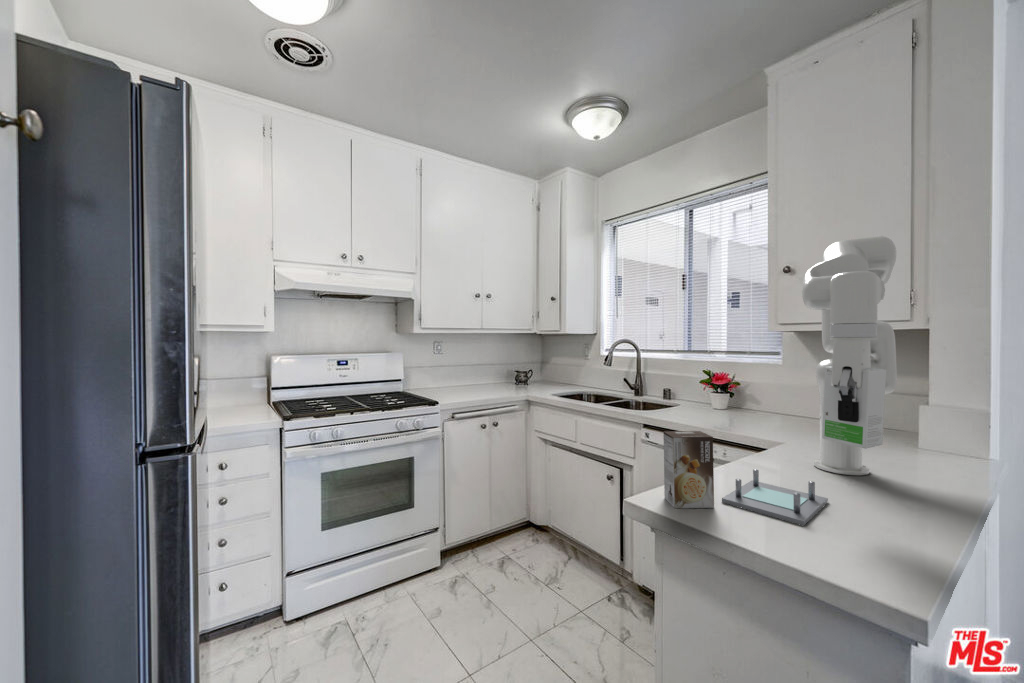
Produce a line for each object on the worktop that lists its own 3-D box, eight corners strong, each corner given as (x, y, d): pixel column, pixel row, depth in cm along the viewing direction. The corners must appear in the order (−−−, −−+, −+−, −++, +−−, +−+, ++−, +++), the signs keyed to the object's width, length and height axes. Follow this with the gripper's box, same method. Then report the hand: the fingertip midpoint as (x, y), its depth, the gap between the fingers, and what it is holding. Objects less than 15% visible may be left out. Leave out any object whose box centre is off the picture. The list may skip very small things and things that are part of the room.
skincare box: (821, 439, 88) (821, 366, 88) (839, 435, 91) (840, 364, 91) (867, 449, 81) (868, 369, 80) (886, 445, 83) (887, 367, 83)
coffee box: (701, 497, 99) (701, 430, 99) (714, 508, 92) (714, 436, 92) (663, 497, 99) (662, 430, 99) (673, 509, 92) (673, 437, 92)
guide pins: (754, 484, 104) (754, 468, 104) (815, 499, 94) (815, 482, 94) (734, 496, 96) (734, 479, 96) (799, 514, 87) (799, 495, 87)
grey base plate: (752, 484, 107) (751, 479, 107) (827, 502, 95) (827, 497, 95) (721, 502, 96) (721, 497, 96) (803, 526, 83) (803, 520, 83)
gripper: (840, 331, 94) (840, 409, 94) (819, 333, 82) (819, 422, 83) (884, 331, 88) (884, 414, 88) (868, 333, 77) (867, 428, 77)
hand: (852, 417), depth 86 cm, fingers closed on skincare box, 7 cm apart
